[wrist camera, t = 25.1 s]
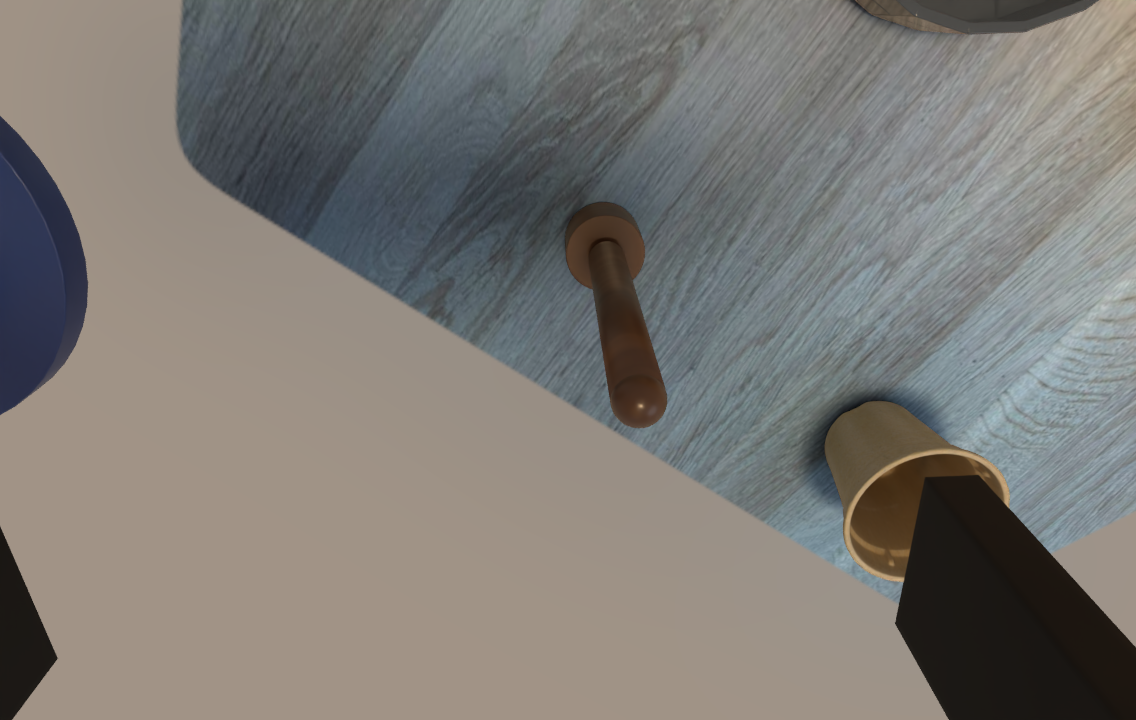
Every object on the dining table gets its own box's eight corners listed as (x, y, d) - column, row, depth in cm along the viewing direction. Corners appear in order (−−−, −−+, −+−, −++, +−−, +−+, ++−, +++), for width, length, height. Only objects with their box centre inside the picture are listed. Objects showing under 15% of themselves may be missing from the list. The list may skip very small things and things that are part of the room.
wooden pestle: (572, 280, 46) (588, 477, 27) (558, 209, 44) (566, 367, 25) (643, 267, 46) (712, 457, 27) (633, 195, 44) (699, 344, 25)
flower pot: (936, 487, 53) (1003, 571, 45) (801, 506, 53) (844, 593, 46) (943, 368, 49) (1018, 437, 41) (797, 390, 49) (843, 463, 42)
